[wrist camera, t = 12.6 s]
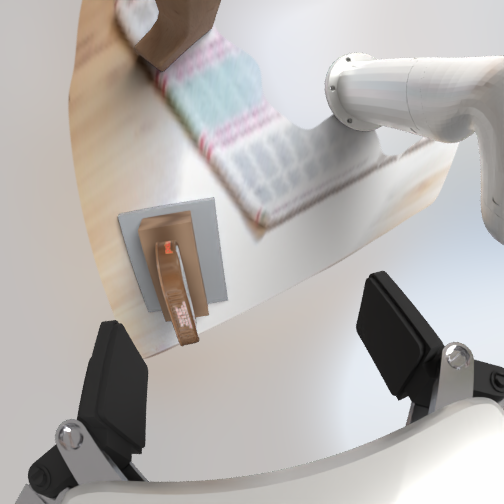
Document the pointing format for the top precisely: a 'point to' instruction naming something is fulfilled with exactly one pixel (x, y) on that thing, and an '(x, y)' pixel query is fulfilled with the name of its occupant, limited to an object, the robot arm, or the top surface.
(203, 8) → the wooden block
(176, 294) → the tin
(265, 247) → the top surface
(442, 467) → the robot arm
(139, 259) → the plate
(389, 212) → the top surface
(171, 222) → the base block
